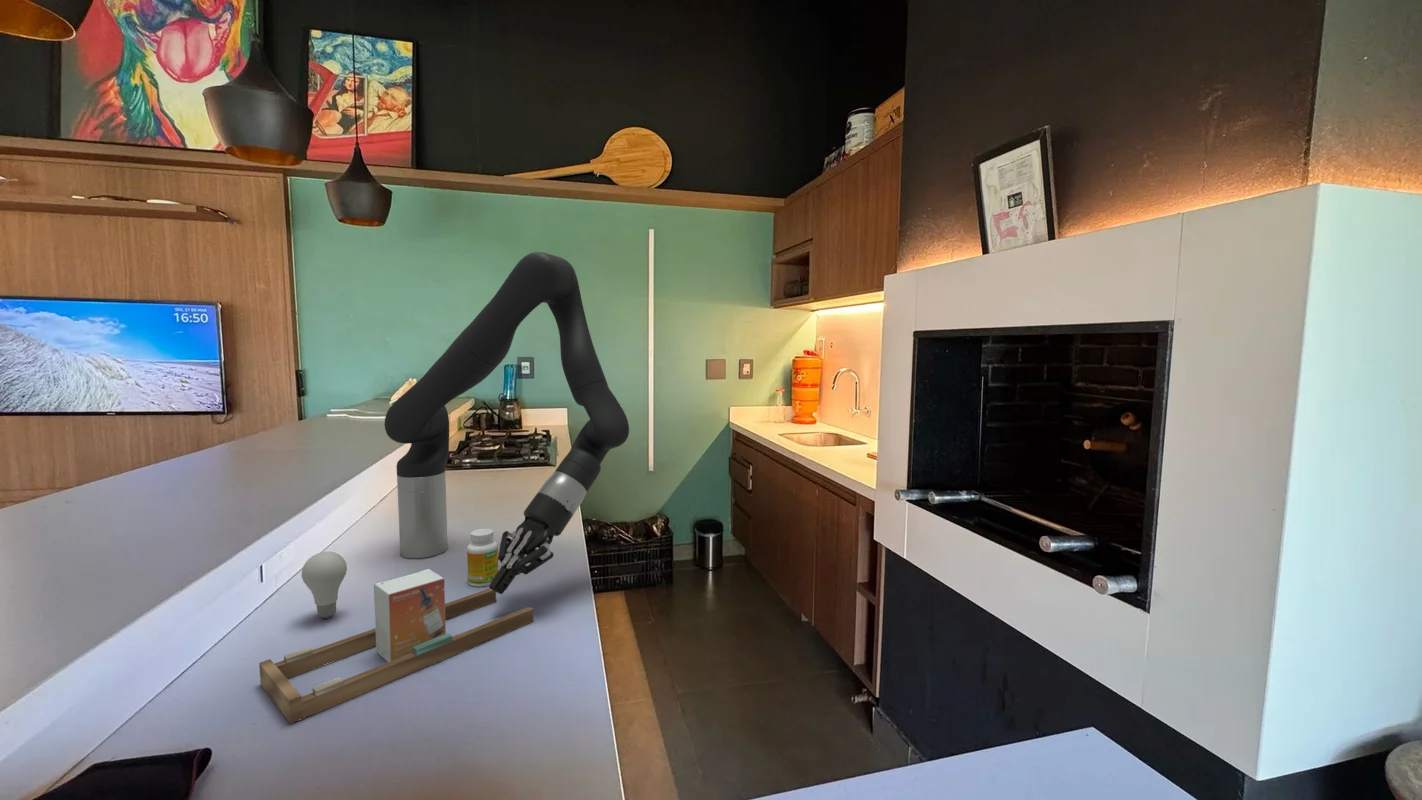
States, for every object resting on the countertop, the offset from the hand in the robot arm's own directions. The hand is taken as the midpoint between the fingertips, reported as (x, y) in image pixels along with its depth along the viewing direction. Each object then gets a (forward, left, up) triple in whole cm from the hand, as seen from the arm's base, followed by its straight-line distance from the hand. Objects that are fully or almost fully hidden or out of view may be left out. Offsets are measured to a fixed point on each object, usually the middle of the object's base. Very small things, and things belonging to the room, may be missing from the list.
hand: (495, 590), depth 95 cm
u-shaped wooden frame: (0, -13, -4) cm, 14 cm away
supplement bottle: (-15, +6, -5) cm, 16 cm away
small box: (0, -13, -5) cm, 14 cm away
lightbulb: (-20, -18, -5) cm, 28 cm away
